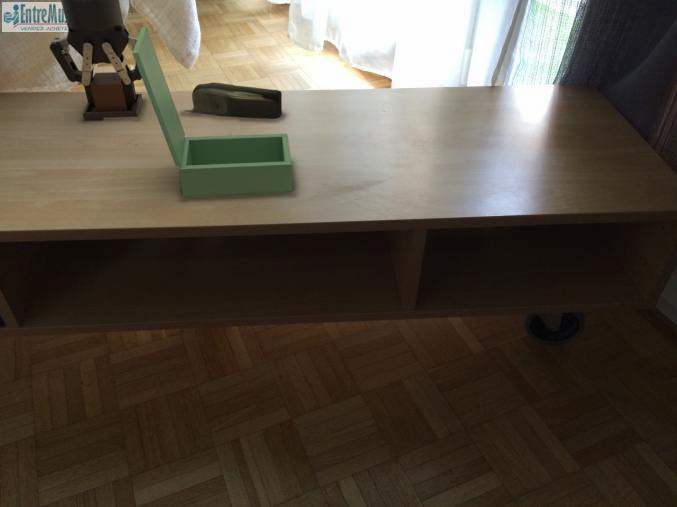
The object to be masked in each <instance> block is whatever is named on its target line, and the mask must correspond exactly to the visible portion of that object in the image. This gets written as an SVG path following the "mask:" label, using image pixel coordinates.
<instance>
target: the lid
mask: <svg viewBox="0 0 677 507" xmlns="http://www.w3.org/2000/svg"><path fill="white" fill-rule="evenodd" d="M137 37H138V39H137V42H136V45H135V48H134V50H132V56H133V58H134V61H135V64H137V67H138V69H139V72H140V74H141V77H142V79H141V80H142V81H143V85H144V87H145V90H146V92H147V95H148V97H149V100H150V103H151V105H152V108H153V111H154V114H155V116H156V119H157V121H158V123H159V126H160V128H161V131H162V134H163V136H164V139H165V142H166V144H167V147H168V149H169V152H170V155H171V157H172V161H173V162H174V165H175V167H179V166H181V160H182V152H183V145H184V138H185V137H186V133H185V130H184V127H183V124H182V121H181V119H180V116H179V113H178V111H177V107H176V105H175V102H174V100H173V96H172V94H171V91H170V88H169V86H168V82H167V80H166V78H165V77H166V76H165V74H164V71H163V68H162V66H161V63H160V61H159V58H158V55H157V51H156V49H155V46H154V44H153V42H152V38H151V35H150V33H149V30H148V27H147V26H142V27H141V28H140V30H139V33H138V36H137Z"/></svg>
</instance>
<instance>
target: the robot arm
mask: <svg viewBox="0 0 677 507" xmlns="http://www.w3.org/2000/svg"><path fill="white" fill-rule="evenodd" d="M60 3H61V7H62V11H63V14H64V18H65V22H66V26H67V35H66V36H64V37H62V38H59V37H55V38H53V40H52V41H51V42H50V44H49V50H50V52H51V54H53V56H54V58H55V59H56V62H57V63H58V65H59V66H60V68H61V70H62V71H63V73H64V74H65V76H66V78H67V80H68V81H69V82H70V83H75V82H77V83H80V84H81V85H82V86H83V87H84V92H85V95H86V100H87V102H89V104H90V105H93V108H96V107H95V103H94V99H93V95H92V91H91V87H90V84H91V81H92V79H93V77H94V72H95V65H98V64H102V63H103V64H108V65H112V67H113V69H114V72H118V74H119V76H120V78H121V80H122V81H123V89H124V94H125V98H126V103H127V107H132V105H133V103H135V100H136V94H137V93H136V87H135V81H141V80H142V77H141V74H140V72H139V69H138V67H137V64H136V63H135V65H134V68H133V69H131V67H130V66H129V64H128V60H127V58H126V55H125V54H124V51H125V50H126V47H127V45H128V44H129V45H130V46H131V51H133V50H134V48H135V45H136V42H137V39H138V36H135V35H131V34H130V33H129V31H128V30H127V28H126V27H125V25H124V19H123V14H122V13H123V12H122V9H121V3H120V0H60ZM70 46H71V47H70ZM71 48H73V49H74V50H75V52H77V54H79V55H80V56H81V57H82V63H81V70H80V69H79V67H78V65H77V64H76V62H75V60H74V59H73V57H72V55H71V53H70V51H71Z"/></svg>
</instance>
